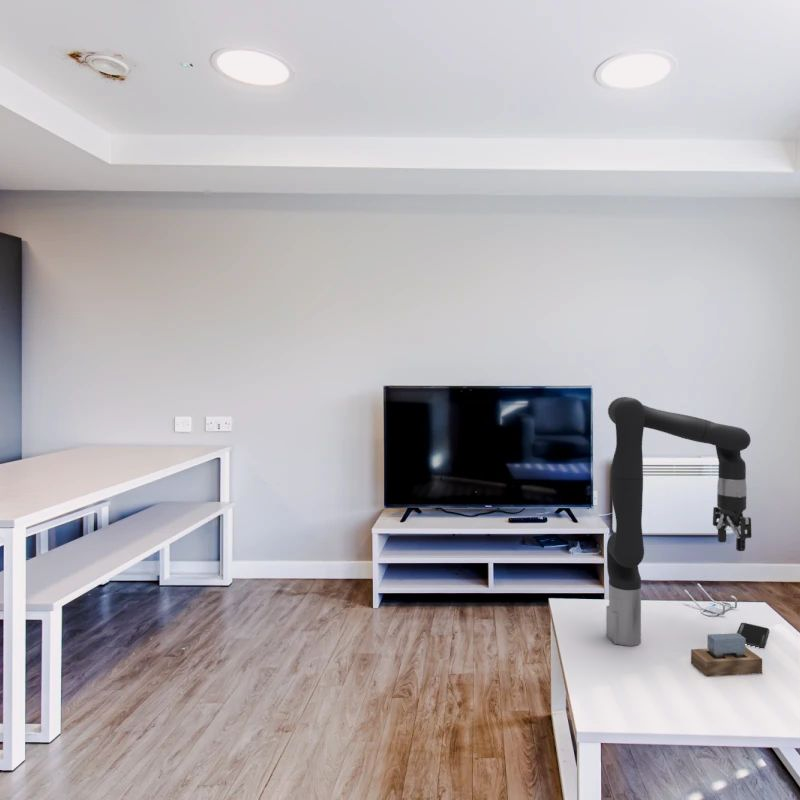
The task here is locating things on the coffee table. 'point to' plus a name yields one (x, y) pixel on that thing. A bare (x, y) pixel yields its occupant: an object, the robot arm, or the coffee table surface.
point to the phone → (754, 634)
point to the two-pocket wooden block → (726, 663)
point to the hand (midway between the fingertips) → (731, 546)
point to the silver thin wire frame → (714, 605)
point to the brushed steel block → (726, 645)
